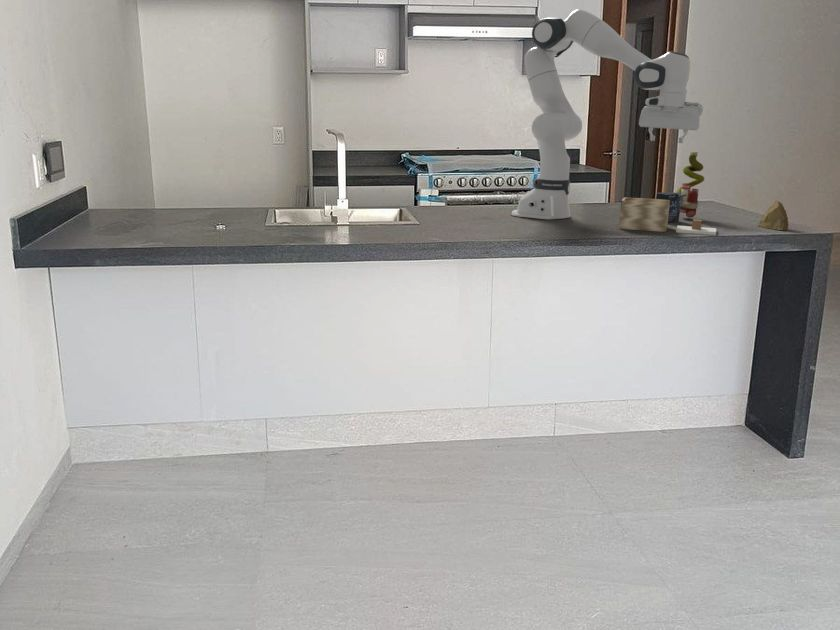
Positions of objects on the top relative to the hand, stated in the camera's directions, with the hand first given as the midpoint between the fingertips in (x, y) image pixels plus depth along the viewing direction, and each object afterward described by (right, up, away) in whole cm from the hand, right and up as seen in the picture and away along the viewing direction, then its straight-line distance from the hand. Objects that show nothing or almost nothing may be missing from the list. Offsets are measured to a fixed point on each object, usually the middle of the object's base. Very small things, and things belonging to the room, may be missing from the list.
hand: (666, 141), depth 279 cm
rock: (+41, -30, +8) cm, 51 cm away
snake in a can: (+16, -24, +26) cm, 39 cm away
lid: (+10, -32, -1) cm, 34 cm away
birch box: (-7, -30, +5) cm, 31 cm away
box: (+6, -26, +20) cm, 33 cm away
